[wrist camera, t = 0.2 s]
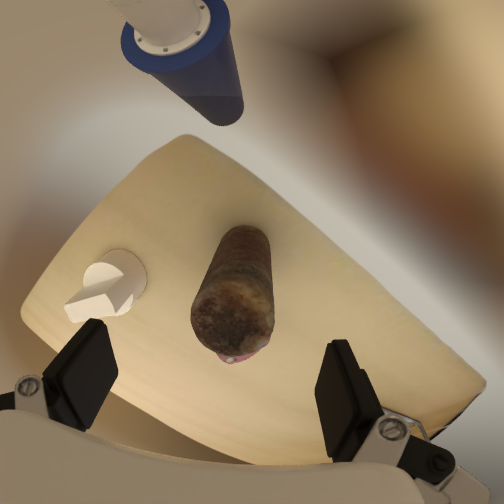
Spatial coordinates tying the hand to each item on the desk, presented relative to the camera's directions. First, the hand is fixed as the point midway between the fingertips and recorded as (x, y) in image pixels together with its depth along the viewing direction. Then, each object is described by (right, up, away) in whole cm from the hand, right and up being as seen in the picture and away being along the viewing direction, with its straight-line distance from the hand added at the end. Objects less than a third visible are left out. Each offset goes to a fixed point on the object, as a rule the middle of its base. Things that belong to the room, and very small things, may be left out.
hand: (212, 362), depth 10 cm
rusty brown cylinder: (0, +5, +31) cm, 31 cm away
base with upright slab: (-20, +1, +32) cm, 38 cm away
